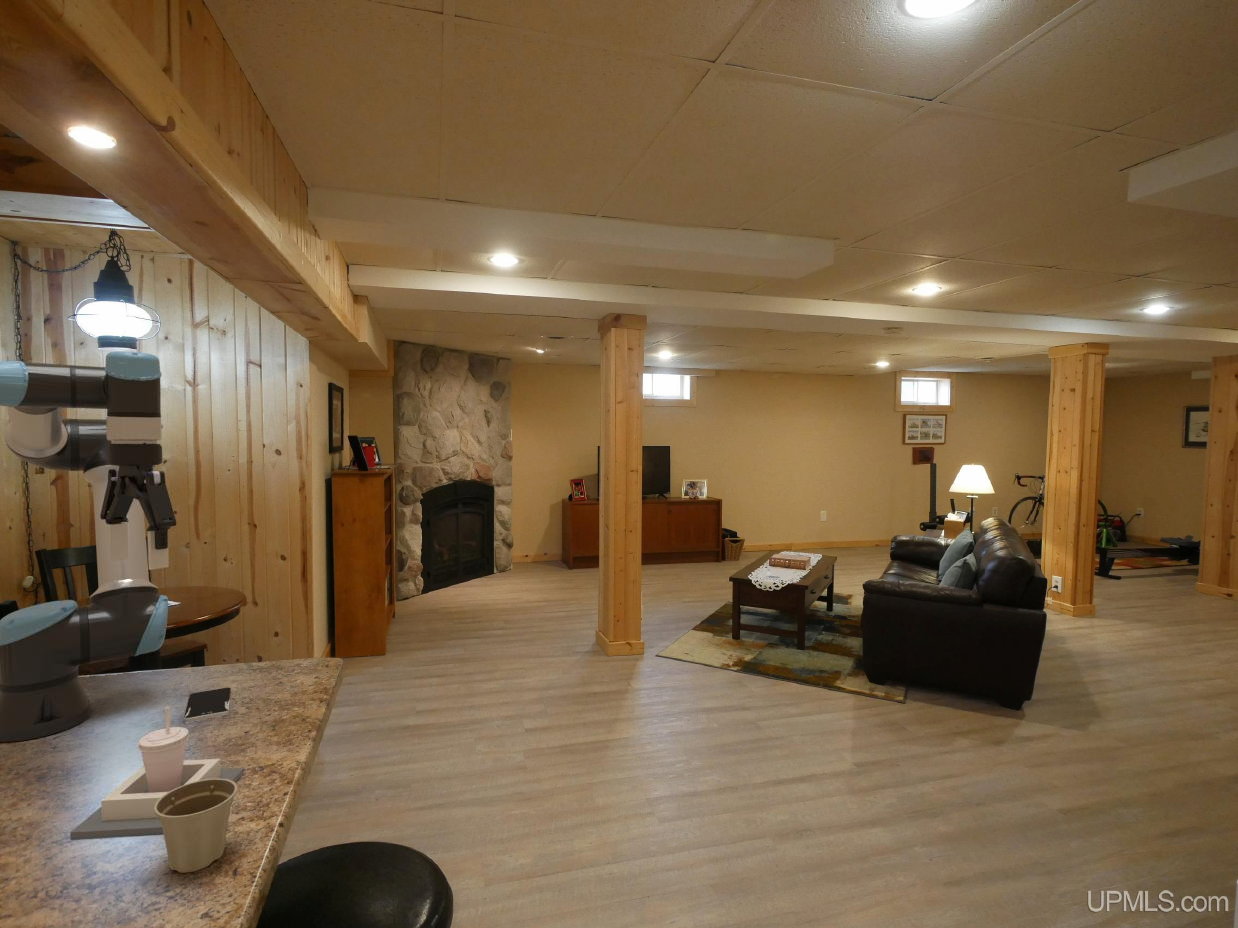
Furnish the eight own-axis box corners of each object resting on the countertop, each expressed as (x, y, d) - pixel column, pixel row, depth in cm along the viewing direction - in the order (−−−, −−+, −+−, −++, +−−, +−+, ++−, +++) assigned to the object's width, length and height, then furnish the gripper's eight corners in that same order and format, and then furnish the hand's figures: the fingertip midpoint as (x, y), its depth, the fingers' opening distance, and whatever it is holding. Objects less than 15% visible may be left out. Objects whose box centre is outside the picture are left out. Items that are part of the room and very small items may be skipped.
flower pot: (223, 827, 93) (222, 770, 92) (249, 855, 87) (248, 793, 86) (145, 860, 85) (144, 798, 85) (168, 893, 79) (166, 826, 79)
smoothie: (197, 793, 100) (196, 706, 99) (150, 813, 94) (148, 721, 94) (178, 780, 103) (176, 696, 102) (132, 799, 98) (129, 711, 97)
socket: (142, 778, 106) (141, 754, 105) (243, 773, 107) (243, 750, 107) (70, 839, 90) (69, 811, 90) (191, 832, 92) (190, 805, 91)
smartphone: (230, 686, 142) (228, 711, 129) (230, 692, 142) (228, 717, 129) (189, 693, 138) (183, 719, 126) (190, 699, 139) (183, 726, 126)
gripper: (198, 443, 107) (201, 567, 108) (123, 441, 119) (126, 553, 120) (148, 443, 100) (151, 576, 101) (74, 441, 112) (78, 560, 113)
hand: (138, 564), depth 111 cm, fingers open, 13 cm apart
